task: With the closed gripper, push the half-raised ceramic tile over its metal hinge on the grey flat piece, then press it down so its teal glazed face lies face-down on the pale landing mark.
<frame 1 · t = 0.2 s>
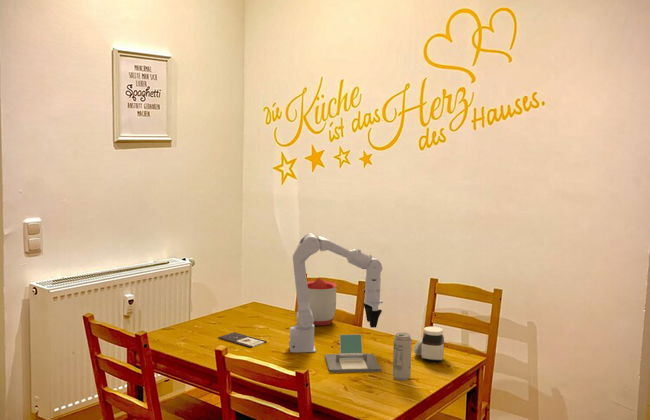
hand: (371, 324, 252), 10 cm above the table, tool pointing down, fingers open, 7 cm apart
citrus juicer: (316, 323, 287), on the table
chocolate bar: (242, 342, 261), on the table
tile: (350, 344, 239), point 6 cm above the table, hinge at 60.0°
grey flat piece: (352, 364, 236), on the table
spread jar: (428, 359, 243), on the table
energy drink can: (401, 378, 223), on the table
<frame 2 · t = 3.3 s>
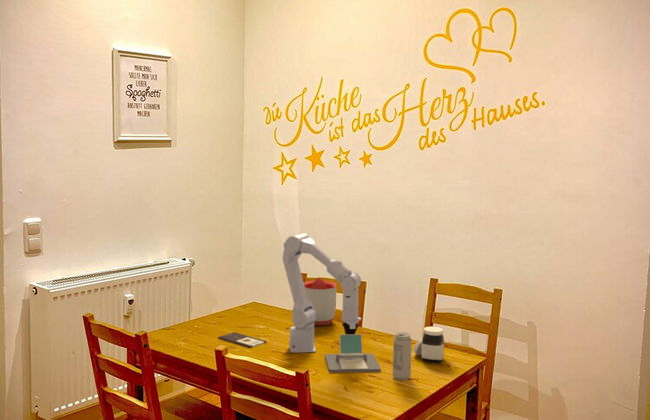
hand: (349, 342, 243), 5 cm above the table, tool pointing down, fingers closed, pressing on tile
tile: (350, 344, 239), point 6 cm above the table, hinge at 60.0°, touching gripper
everything else where it was.
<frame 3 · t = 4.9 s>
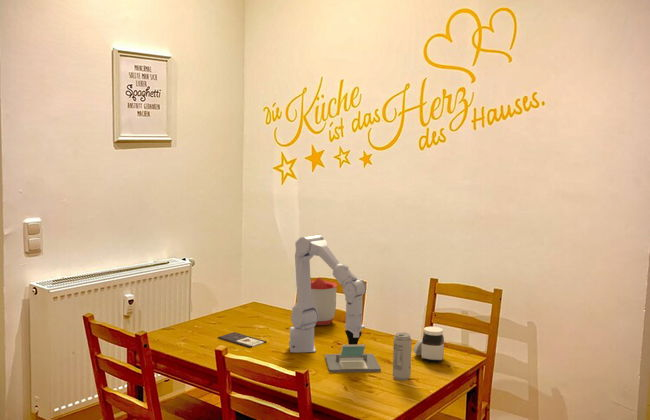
hand: (352, 350, 235), 5 cm above the table, tool pointing down, fingers closed, pressing on tile
tile: (352, 350, 234), point 5 cm above the table, hinge at 132.5°, touching gripper
everything else where it was.
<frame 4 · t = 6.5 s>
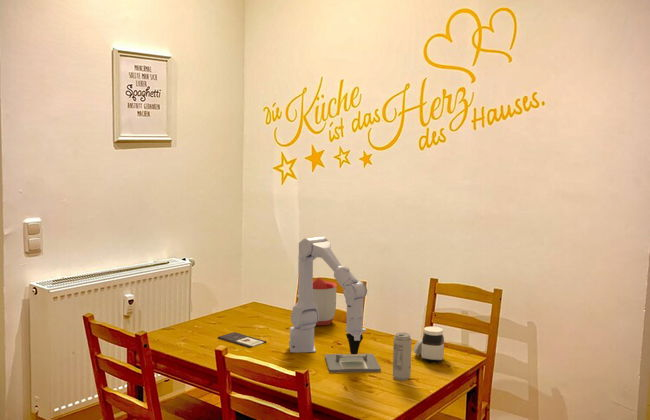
hand: (353, 354, 231), 5 cm above the table, tool pointing down, fingers closed, pressing on tile
tile: (353, 355, 233), point 4 cm above the table, hinge at 158.1°, touching gripper
everything else where it was.
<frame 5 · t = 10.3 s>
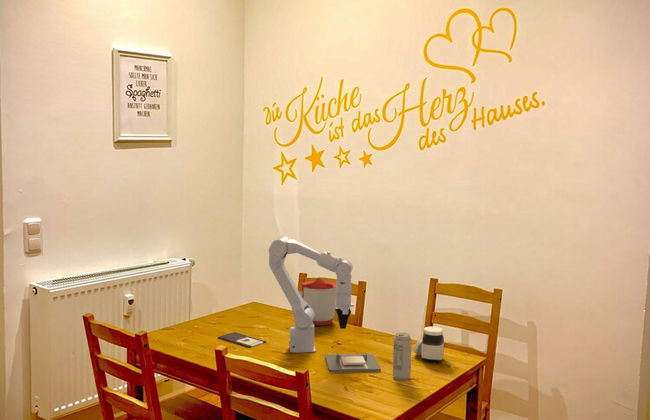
hand: (342, 328, 247), 9 cm above the table, tool pointing down, fingers closed
tile: (353, 360, 233), point 2 cm above the table, hinge at 178.4°
everything else where it was.
at the end: tile at +178° (first picture: +60°) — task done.
